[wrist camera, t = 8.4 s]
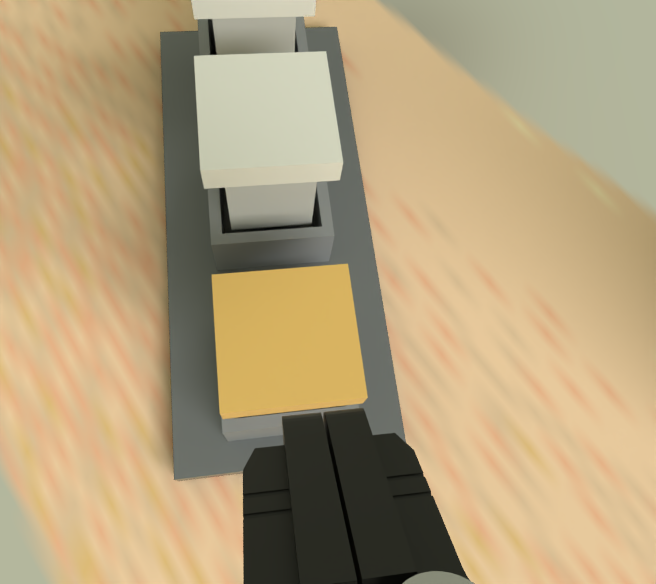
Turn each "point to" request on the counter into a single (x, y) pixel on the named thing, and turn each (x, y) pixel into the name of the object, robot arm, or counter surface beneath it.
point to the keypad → (255, 266)
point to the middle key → (267, 134)
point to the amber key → (286, 341)
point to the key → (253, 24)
